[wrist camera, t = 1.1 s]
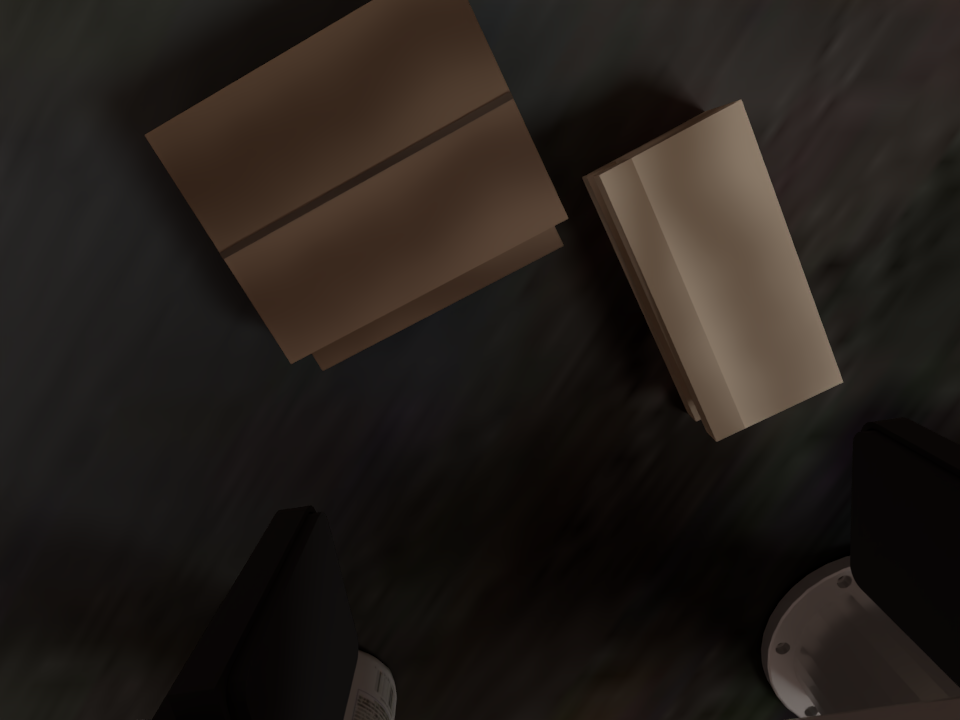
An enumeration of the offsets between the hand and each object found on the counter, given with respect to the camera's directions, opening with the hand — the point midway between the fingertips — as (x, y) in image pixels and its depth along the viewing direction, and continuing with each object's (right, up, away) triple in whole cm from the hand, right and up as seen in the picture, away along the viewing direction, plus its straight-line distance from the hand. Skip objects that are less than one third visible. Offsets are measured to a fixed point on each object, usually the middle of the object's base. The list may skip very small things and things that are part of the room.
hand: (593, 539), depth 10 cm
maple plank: (+10, +8, +20) cm, 24 cm away
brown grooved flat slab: (-7, +12, +18) cm, 23 cm away
